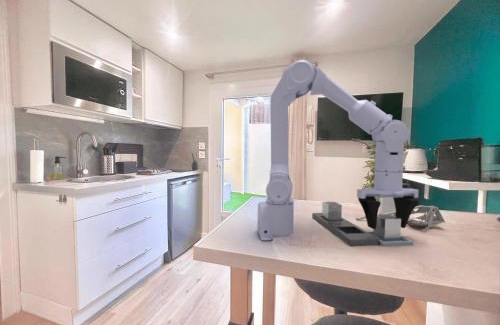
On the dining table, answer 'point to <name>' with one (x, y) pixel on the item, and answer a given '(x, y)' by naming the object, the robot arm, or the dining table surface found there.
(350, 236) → the slotted metal plate
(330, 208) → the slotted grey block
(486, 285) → the dining table surface
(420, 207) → the bracket
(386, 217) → the light grey rectangular block
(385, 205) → the jar
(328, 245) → the dining table surface
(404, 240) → the tray
